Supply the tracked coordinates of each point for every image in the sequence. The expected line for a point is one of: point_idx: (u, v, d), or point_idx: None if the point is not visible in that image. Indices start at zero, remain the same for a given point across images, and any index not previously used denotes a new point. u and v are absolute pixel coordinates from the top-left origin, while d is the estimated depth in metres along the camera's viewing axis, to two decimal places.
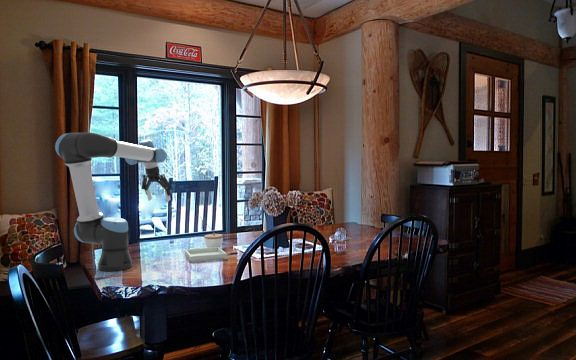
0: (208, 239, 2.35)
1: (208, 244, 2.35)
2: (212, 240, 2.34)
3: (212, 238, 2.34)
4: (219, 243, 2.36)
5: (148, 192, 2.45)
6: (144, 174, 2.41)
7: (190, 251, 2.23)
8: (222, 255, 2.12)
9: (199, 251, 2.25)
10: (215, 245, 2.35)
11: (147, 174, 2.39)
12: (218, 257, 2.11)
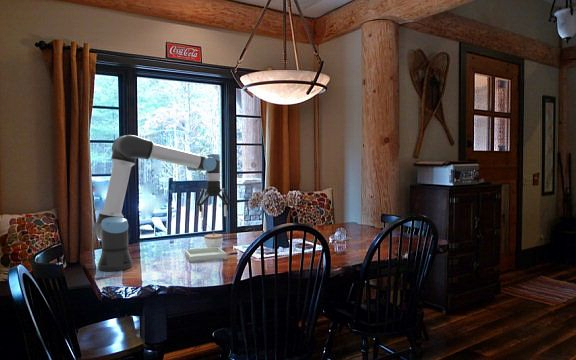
0: (208, 239, 2.35)
1: (208, 244, 2.35)
2: (212, 240, 2.34)
3: (212, 238, 2.34)
4: (219, 243, 2.36)
5: (202, 208, 2.36)
6: (203, 189, 2.36)
7: (190, 251, 2.23)
8: (222, 255, 2.12)
9: (199, 251, 2.25)
10: (215, 245, 2.35)
11: (208, 188, 2.36)
12: (218, 257, 2.11)
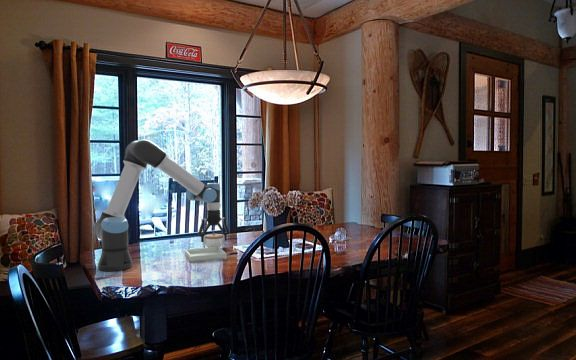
0: (208, 239, 2.35)
1: (208, 244, 2.35)
2: (212, 240, 2.34)
3: (212, 238, 2.34)
4: (219, 243, 2.36)
5: (204, 239, 2.37)
6: (203, 219, 2.36)
7: (190, 251, 2.23)
8: (222, 255, 2.12)
9: (199, 251, 2.25)
10: (215, 245, 2.35)
11: (208, 217, 2.37)
12: (218, 257, 2.11)
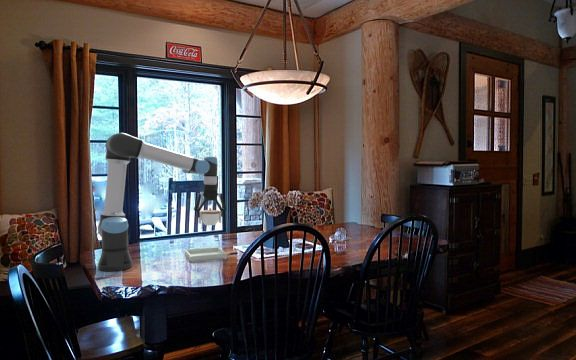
0: (204, 214, 2.27)
1: (204, 219, 2.27)
2: (209, 215, 2.26)
3: (209, 213, 2.26)
4: (216, 218, 2.28)
5: None
6: (199, 193, 2.28)
7: (190, 251, 2.23)
8: (222, 255, 2.12)
9: (199, 251, 2.25)
10: (211, 220, 2.27)
11: (204, 192, 2.29)
12: (218, 257, 2.11)
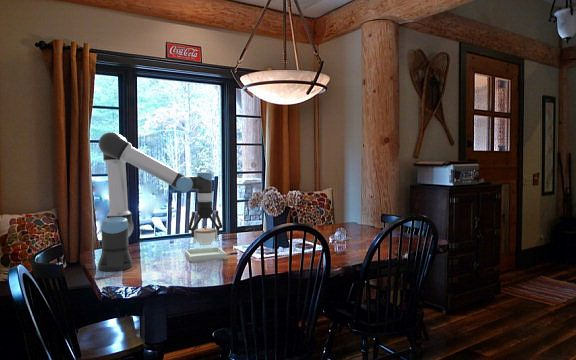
0: (199, 233, 2.13)
1: (199, 239, 2.13)
2: (204, 234, 2.12)
3: (203, 232, 2.12)
4: (211, 238, 2.14)
5: None
6: (193, 211, 2.14)
7: (190, 251, 2.23)
8: (222, 255, 2.12)
9: (199, 251, 2.25)
10: (207, 240, 2.13)
11: (198, 210, 2.15)
12: (218, 257, 2.11)
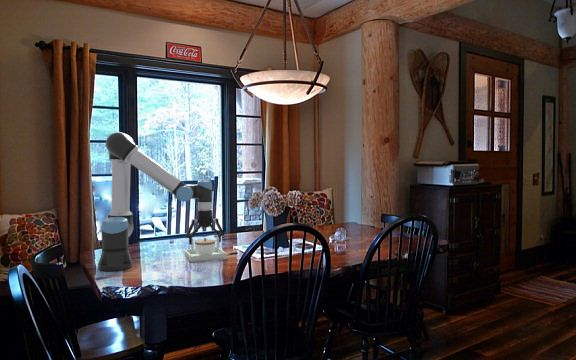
0: (199, 245, 2.13)
1: (199, 251, 2.13)
2: (203, 246, 2.12)
3: (203, 244, 2.12)
4: (211, 249, 2.14)
5: None
6: (193, 219, 2.14)
7: (190, 251, 2.23)
8: (222, 255, 2.12)
9: None
10: (206, 252, 2.13)
11: (199, 218, 2.15)
12: (218, 257, 2.11)
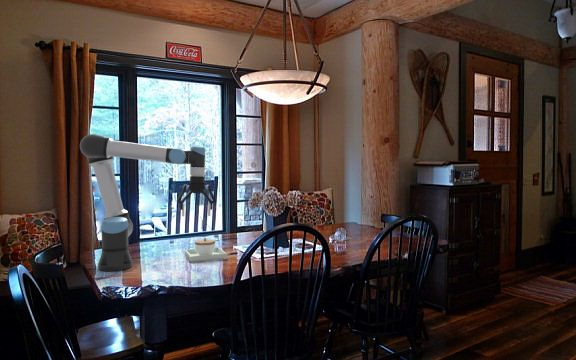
0: (199, 245, 2.13)
1: (199, 251, 2.13)
2: (203, 246, 2.12)
3: (203, 244, 2.12)
4: (211, 249, 2.14)
5: None
6: None
7: (190, 251, 2.23)
8: (222, 255, 2.12)
9: None
10: (206, 252, 2.13)
11: (191, 184, 2.14)
12: (218, 257, 2.11)
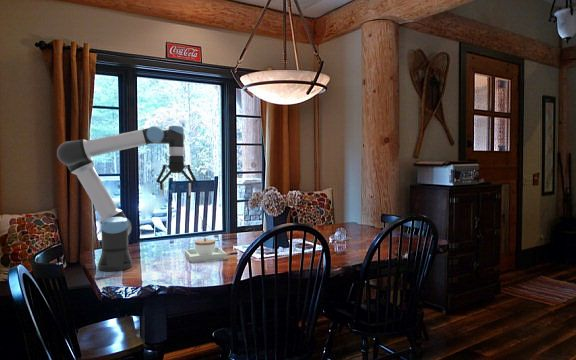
0: (199, 245, 2.13)
1: (199, 251, 2.13)
2: (203, 246, 2.12)
3: (203, 244, 2.12)
4: (211, 249, 2.14)
5: None
6: None
7: (190, 251, 2.23)
8: (222, 255, 2.12)
9: None
10: (206, 252, 2.13)
11: (170, 164, 2.12)
12: (218, 257, 2.11)
